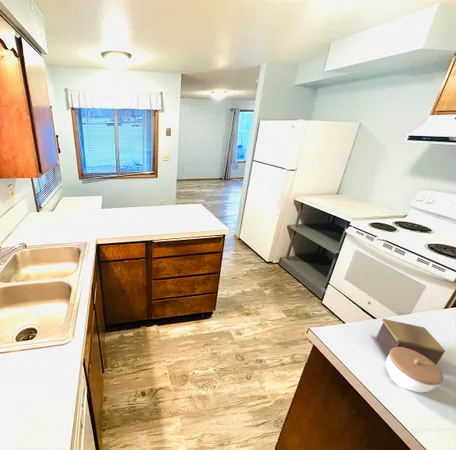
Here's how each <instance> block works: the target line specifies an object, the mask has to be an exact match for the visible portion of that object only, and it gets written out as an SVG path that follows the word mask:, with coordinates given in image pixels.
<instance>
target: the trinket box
mask: <svg viewBox="0 0 456 450" xmlns="http://www.w3.org/2000/svg"><path fill="white" fill-rule="evenodd" d="M385 367H386V371H387V373H388V374H389V376H390V378H391V379H392V381H394V383H395V384H396V385H398V386H399V387H401V388H402V389H404V390H407V391H410V392H414V393H415V392H416V393H428V392H431V391H433V390H434V389H435V388H437V387H438V386H439V385H440V384H442V383H443V381H444V375H443V372H442V371H441V369H440V368H439V367H438V365H435V364H434V363H433V362H432V361H431V360H429V359H428V358H426V357H425V356H423V355H422V354H420V353H418V352H416V351H413V350H411V349H408V348H403V347H395V348H392V349H391V350H390V353H389V355H388V357H386V360H385Z"/></svg>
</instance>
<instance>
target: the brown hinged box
mask: <svg viewBox="0 0 456 450" xmlns="http://www.w3.org/2000/svg"><path fill="white" fill-rule="evenodd" d="M375 339H376V341H377V343H378V345H379V346H380V348H381V351H383V353H384V355H385V356H386V358H387V357H388V355H389V353H390V350H391V349H392V348H395V347H403V348H408V349H411V350H413V351H416V352H418V353H420V354H422V355H423V356H425V357H426V358H428V359H429V360H431V361H432V362H433V363H434V364H435V365H436V366H438V363H439V361H440V360H441V358H442V357H443V355H444V354H445V352H440V351H436V350H432V349H427V348H423V347H419V346H414V345H410V344H406V343H401V342H397V341H396V339H395V338H394V337H393V335H392V334H391V332H390V331H389V330H388V328H387V327H386V325H385V324H384V323H383V322H382V324H381V326H380V329H379V331H378V333H377V335H376V337H375Z"/></svg>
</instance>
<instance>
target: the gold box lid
mask: <svg viewBox="0 0 456 450" xmlns="http://www.w3.org/2000/svg"><path fill="white" fill-rule="evenodd" d="M381 321H382V324H383V323H384V324H385V325H386V327H387V328H388V330H389V331H390V332H391V334H392V335H393V337H394V338H395V339H396V341H397V342H401V343H406V344H410V345H414V346H419V347H423V348H427V349H432V350H436V351H440V352H444V353H445V352H446V349H445V348H444V347H443V346H442V344H440V342H439V341H437V339H436V338H435V337H434V336H433V335H432V334H431V333H430V332H429V331H428V329H426V327H424V326H419V325H415V324H410V323H405V322H400V321H395V320H391V319H386V318H382V319H381Z"/></svg>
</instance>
